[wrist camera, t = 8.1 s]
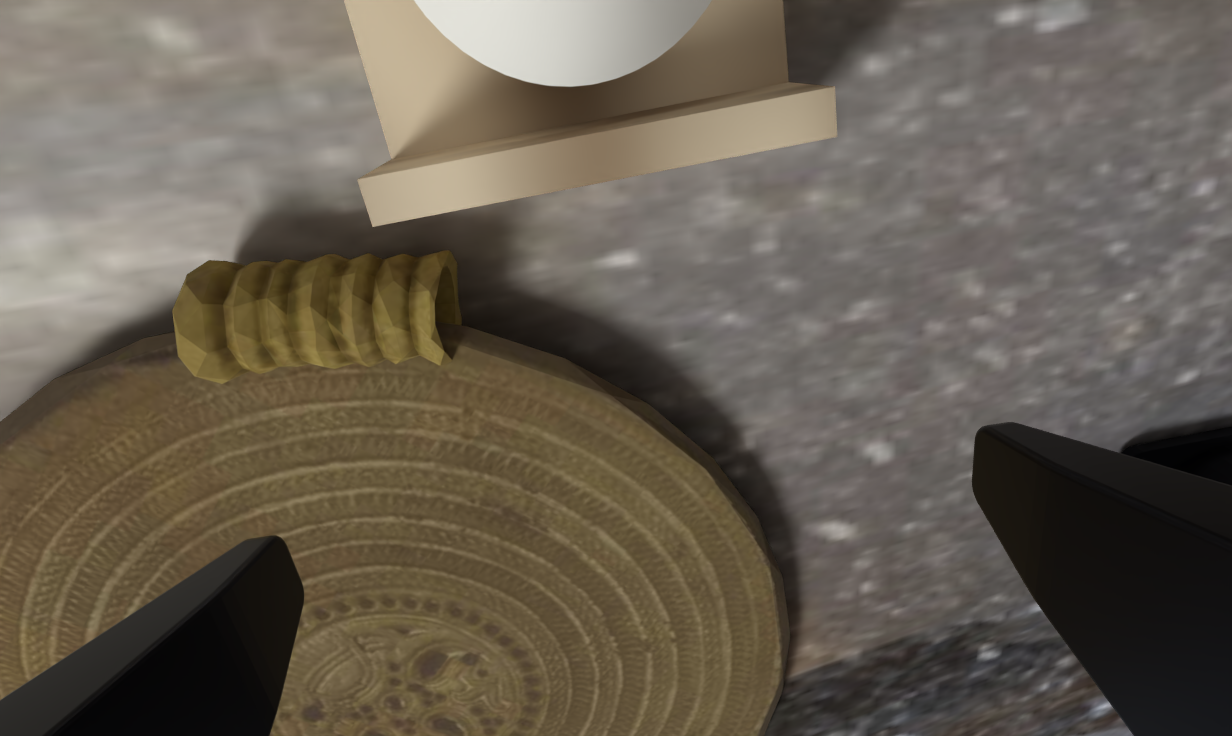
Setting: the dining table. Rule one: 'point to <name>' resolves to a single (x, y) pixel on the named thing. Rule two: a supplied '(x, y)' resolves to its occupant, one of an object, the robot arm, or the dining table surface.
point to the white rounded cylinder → (564, 35)
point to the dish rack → (572, 111)
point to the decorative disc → (396, 514)
